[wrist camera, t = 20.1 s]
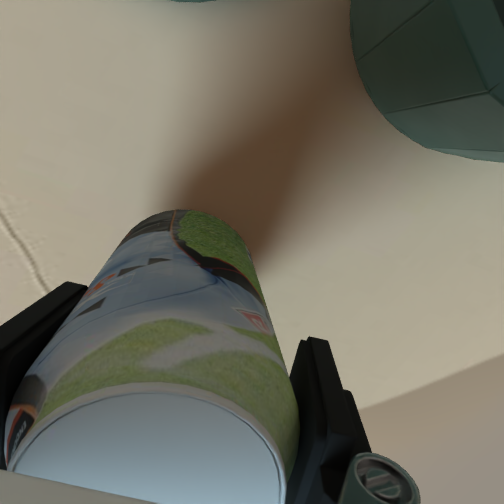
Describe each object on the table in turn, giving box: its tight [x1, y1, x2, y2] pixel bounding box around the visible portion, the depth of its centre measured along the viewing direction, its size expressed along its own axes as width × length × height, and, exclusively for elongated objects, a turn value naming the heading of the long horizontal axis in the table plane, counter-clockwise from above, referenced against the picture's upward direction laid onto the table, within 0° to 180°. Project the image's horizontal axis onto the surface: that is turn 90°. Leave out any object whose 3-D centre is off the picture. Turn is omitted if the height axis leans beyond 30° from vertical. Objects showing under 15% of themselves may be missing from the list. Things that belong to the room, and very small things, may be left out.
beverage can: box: [4, 210, 300, 504], centre depth 12 cm, size 6×7×12 cm
